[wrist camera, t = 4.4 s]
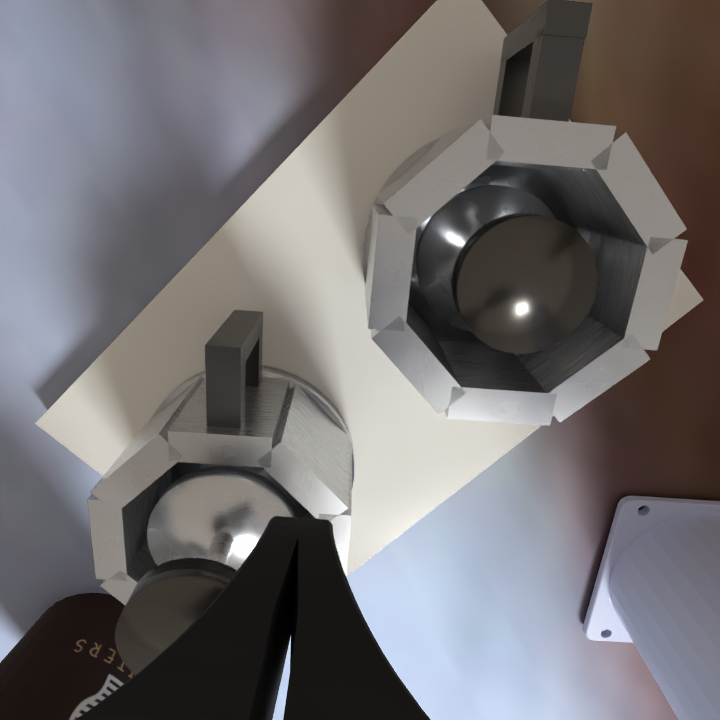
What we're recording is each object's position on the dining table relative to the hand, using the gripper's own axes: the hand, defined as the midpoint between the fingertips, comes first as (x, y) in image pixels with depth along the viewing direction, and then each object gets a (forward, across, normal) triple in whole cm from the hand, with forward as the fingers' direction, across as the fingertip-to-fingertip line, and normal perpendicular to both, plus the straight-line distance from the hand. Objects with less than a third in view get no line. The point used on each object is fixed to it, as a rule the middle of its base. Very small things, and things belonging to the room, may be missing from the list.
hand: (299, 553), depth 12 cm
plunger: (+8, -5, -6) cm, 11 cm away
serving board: (+10, -1, -1) cm, 10 cm away
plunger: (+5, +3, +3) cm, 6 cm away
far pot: (+9, +3, +2) cm, 10 cm away
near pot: (+9, -5, -7) cm, 13 cm away
